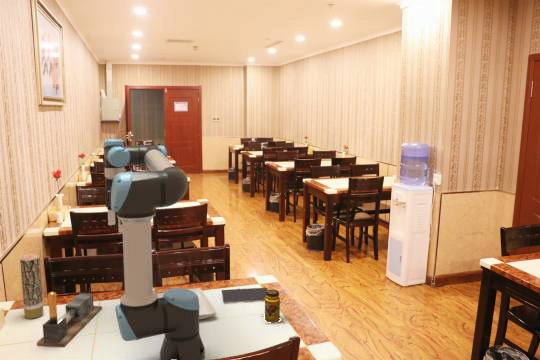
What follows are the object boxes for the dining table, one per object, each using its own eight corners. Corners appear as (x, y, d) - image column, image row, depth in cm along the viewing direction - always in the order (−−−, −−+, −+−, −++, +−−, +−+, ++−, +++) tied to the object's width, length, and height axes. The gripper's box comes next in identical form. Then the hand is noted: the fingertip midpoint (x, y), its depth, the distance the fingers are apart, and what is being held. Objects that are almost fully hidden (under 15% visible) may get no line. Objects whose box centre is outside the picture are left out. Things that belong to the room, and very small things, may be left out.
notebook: (266, 290, 210) (221, 293, 206) (266, 287, 209) (221, 289, 206) (271, 302, 197) (223, 304, 194) (271, 298, 197) (223, 301, 193)
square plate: (138, 304, 193) (138, 295, 192) (200, 294, 204) (200, 286, 203) (148, 333, 168) (147, 323, 168) (217, 320, 179) (217, 311, 178)
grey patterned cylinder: (35, 320, 176) (31, 260, 172) (20, 318, 177) (16, 258, 173) (47, 312, 183) (43, 254, 179) (32, 311, 184) (28, 253, 180)
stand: (78, 307, 188) (77, 290, 186) (101, 308, 187) (101, 291, 186) (37, 345, 158) (35, 325, 156) (64, 347, 157) (63, 326, 156)
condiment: (266, 324, 176) (266, 296, 174) (260, 315, 184) (260, 287, 182) (283, 322, 178) (284, 293, 176) (277, 313, 186) (277, 285, 184)
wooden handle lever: (72, 313, 175) (70, 275, 173) (80, 313, 175) (78, 275, 173) (47, 335, 158) (45, 293, 156) (56, 335, 158) (53, 294, 155)
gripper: (134, 181, 172) (136, 233, 176) (114, 173, 192) (116, 220, 195) (115, 182, 168) (117, 236, 171) (96, 174, 188) (98, 223, 191)
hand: (117, 228), depth 183 cm, fingers open, 13 cm apart
